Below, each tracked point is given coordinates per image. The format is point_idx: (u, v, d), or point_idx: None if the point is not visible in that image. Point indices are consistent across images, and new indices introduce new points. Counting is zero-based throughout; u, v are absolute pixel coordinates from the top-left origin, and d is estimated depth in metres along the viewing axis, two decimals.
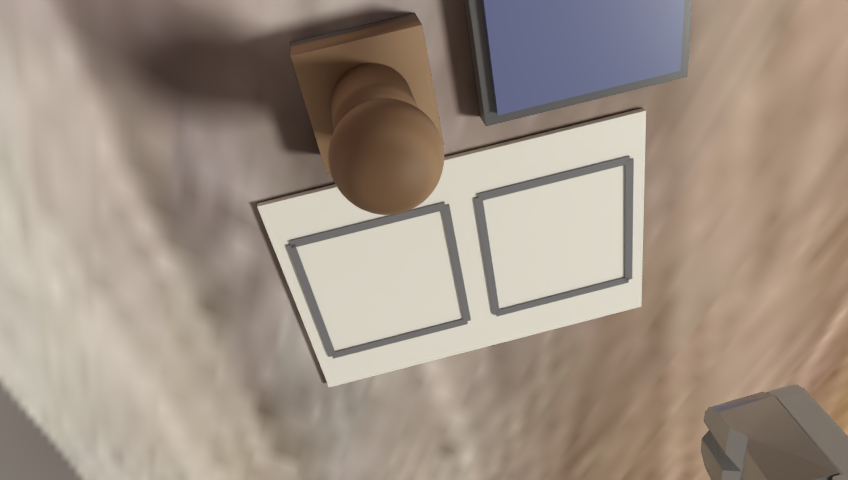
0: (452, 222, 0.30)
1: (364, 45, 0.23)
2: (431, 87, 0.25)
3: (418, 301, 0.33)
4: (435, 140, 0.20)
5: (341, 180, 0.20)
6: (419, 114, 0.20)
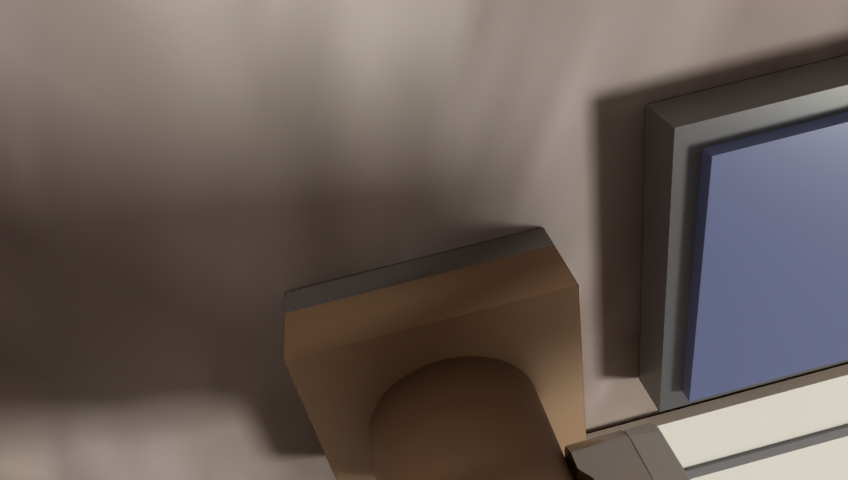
0: None
1: (449, 329, 0.11)
2: (579, 385, 0.12)
3: None
4: None
5: None
6: None
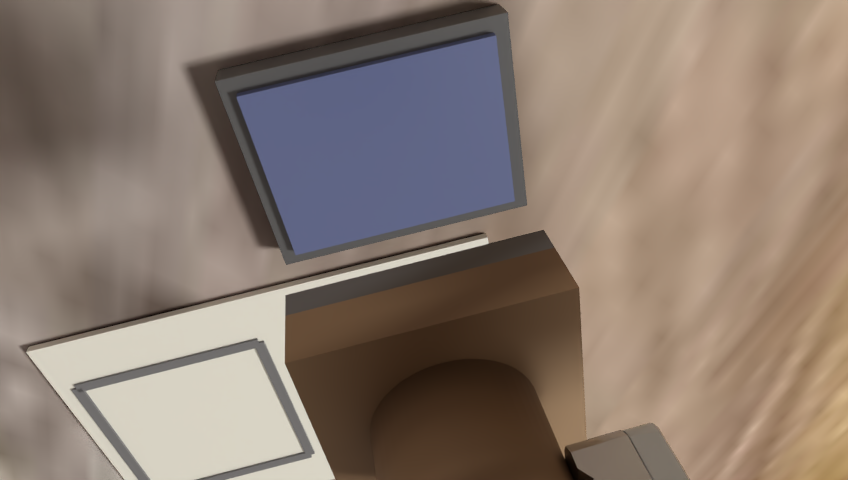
0: (271, 358, 0.26)
1: (450, 332, 0.11)
2: (580, 387, 0.12)
3: (247, 437, 0.28)
4: None
5: None
6: None
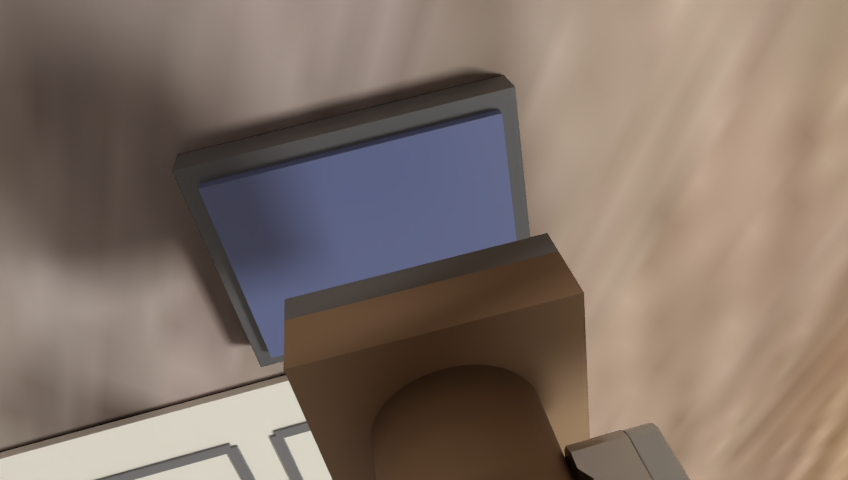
0: (246, 463, 0.23)
1: (452, 337, 0.10)
2: (584, 393, 0.12)
3: None
4: None
5: None
6: None
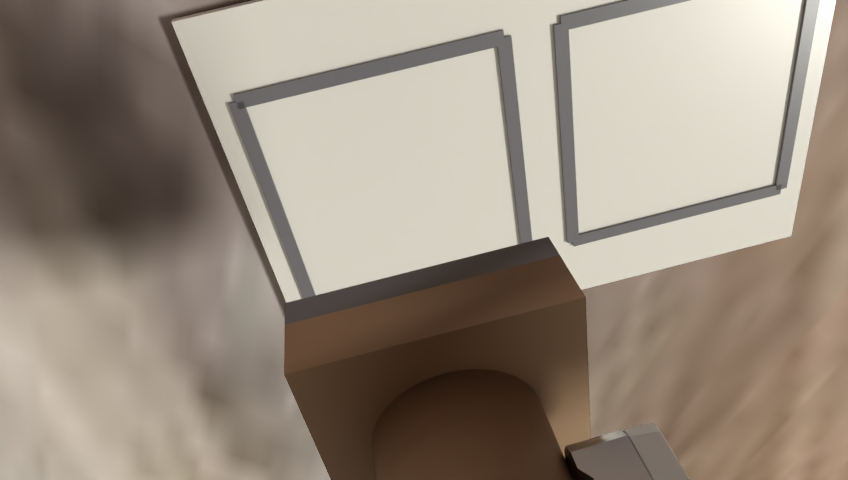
0: (513, 72, 0.18)
1: (453, 342, 0.10)
2: (585, 397, 0.12)
3: (451, 216, 0.20)
4: None
5: None
6: None
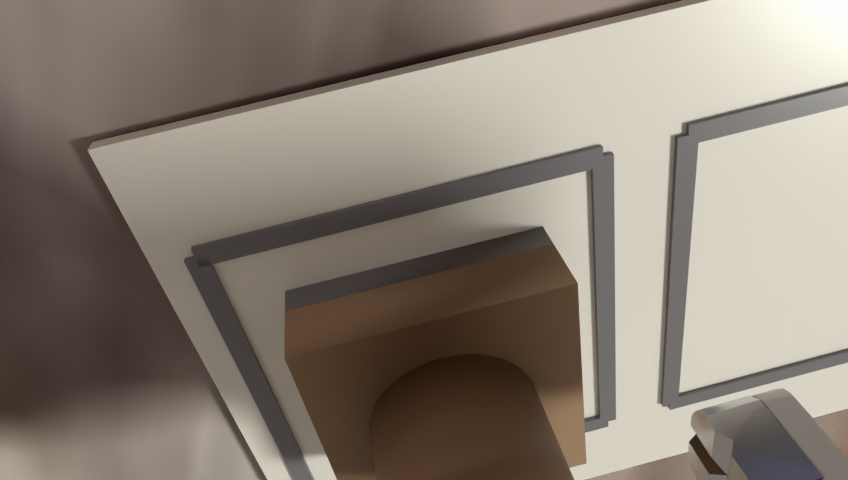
0: (611, 200, 0.12)
1: (449, 327, 0.11)
2: (578, 383, 0.12)
3: None
4: None
5: None
6: None
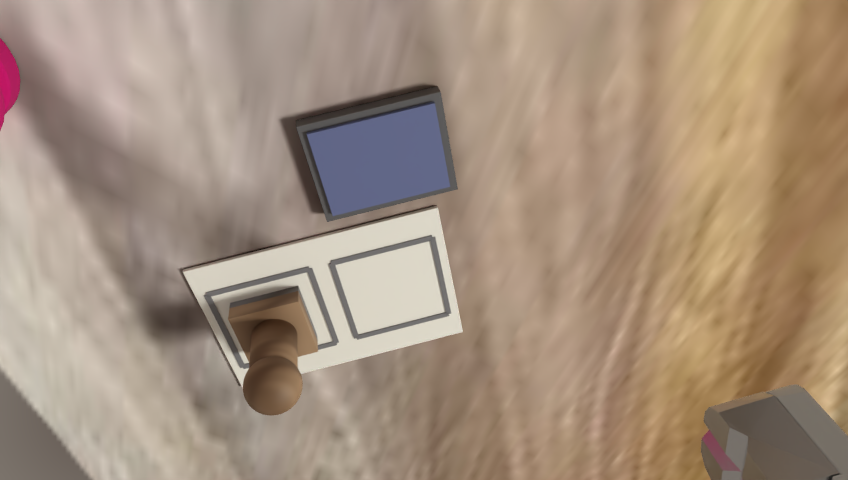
0: (316, 279, 0.45)
1: (267, 312, 0.44)
2: (307, 327, 0.45)
3: None
4: (294, 381, 0.40)
5: (248, 402, 0.40)
6: (286, 369, 0.40)
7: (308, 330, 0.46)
